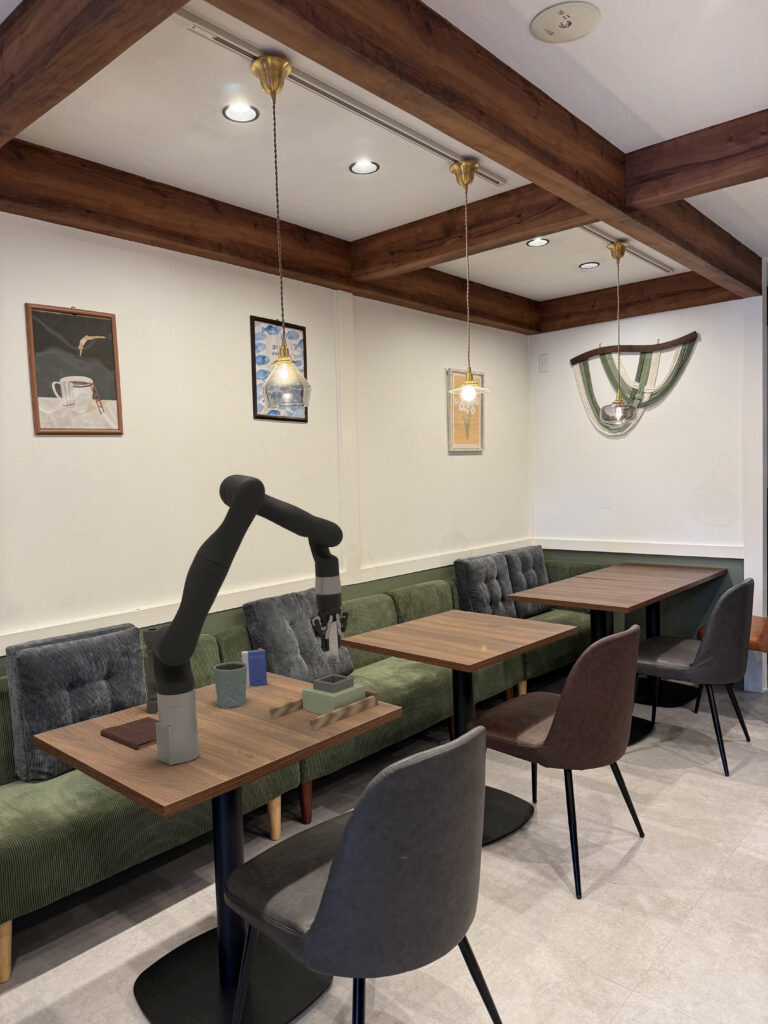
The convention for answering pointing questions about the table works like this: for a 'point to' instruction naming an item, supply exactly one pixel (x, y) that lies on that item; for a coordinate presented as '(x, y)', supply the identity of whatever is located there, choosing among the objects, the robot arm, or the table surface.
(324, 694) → the green stepped block
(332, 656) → the handle
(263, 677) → the walkman
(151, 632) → the candle holder
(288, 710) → the bay
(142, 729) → the notebook
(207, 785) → the table surface
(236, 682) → the teal cup
